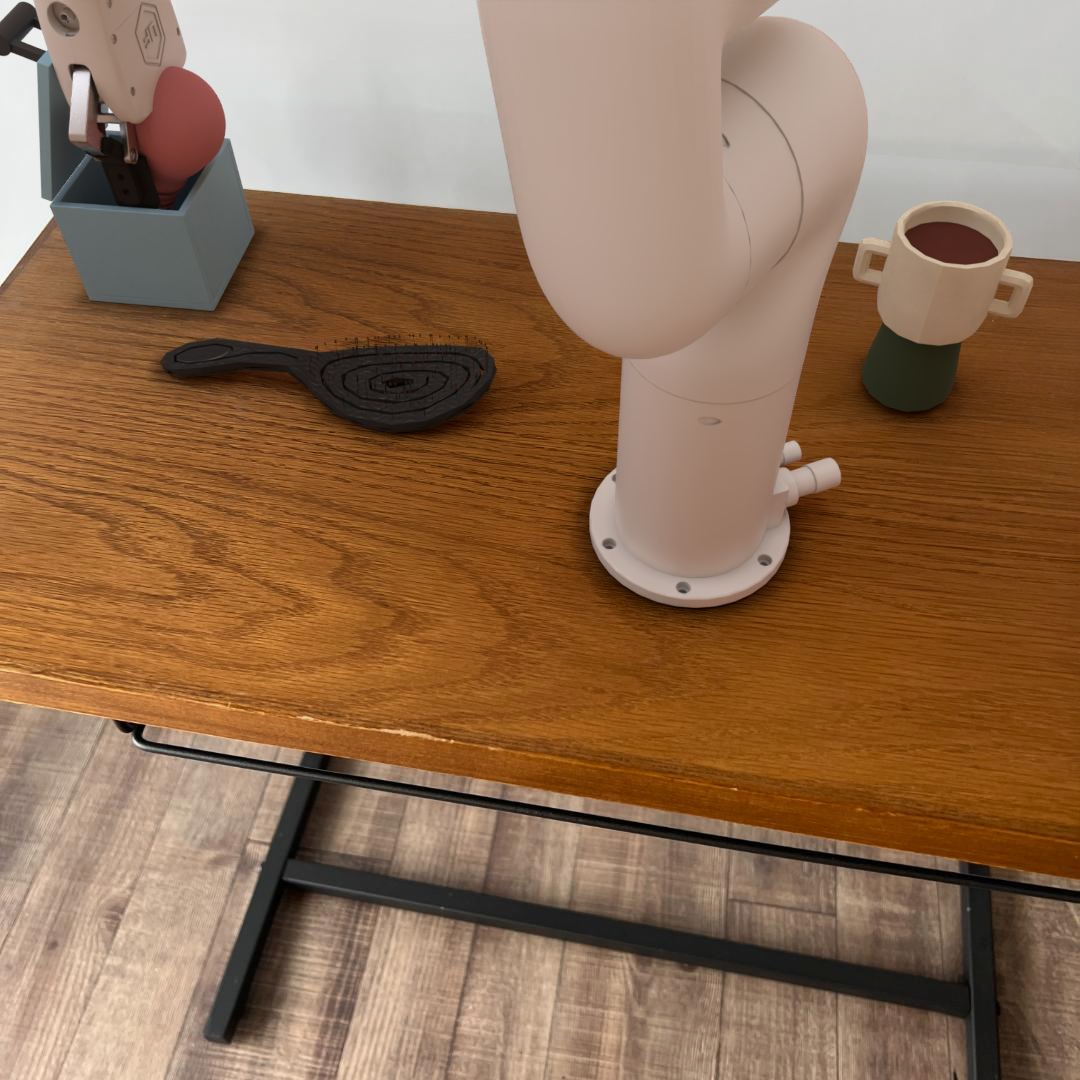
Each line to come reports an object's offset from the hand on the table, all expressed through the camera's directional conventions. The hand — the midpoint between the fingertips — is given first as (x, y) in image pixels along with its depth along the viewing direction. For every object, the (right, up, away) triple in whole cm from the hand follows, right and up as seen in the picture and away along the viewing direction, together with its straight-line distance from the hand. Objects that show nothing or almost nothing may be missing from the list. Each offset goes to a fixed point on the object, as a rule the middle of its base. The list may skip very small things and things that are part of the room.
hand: (158, 175), depth 81 cm
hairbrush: (+13, -16, -2) cm, 21 cm away
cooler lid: (-4, +4, -4) cm, 7 cm away
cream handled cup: (+54, -16, -4) cm, 57 cm away
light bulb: (-2, -2, +2) cm, 3 cm away
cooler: (-1, -5, +7) cm, 9 cm away
